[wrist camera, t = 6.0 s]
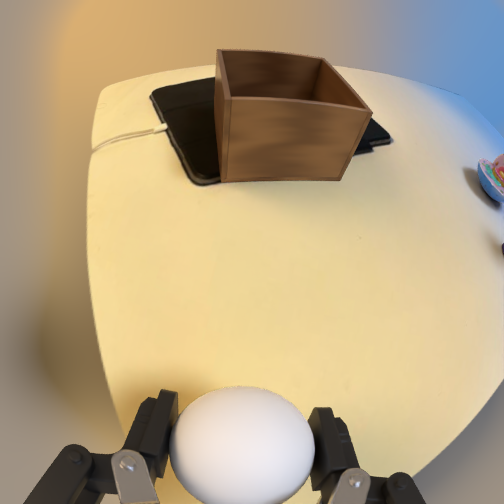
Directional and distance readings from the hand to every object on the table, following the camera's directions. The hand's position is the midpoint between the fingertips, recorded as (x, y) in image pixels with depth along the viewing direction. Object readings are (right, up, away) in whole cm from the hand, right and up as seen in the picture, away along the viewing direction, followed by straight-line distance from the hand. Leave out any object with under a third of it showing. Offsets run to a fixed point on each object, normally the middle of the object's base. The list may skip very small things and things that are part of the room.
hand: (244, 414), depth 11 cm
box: (+3, +20, +20) cm, 28 cm away
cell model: (+44, +18, +24) cm, 53 cm away
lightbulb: (-1, -5, +6) cm, 8 cm away
